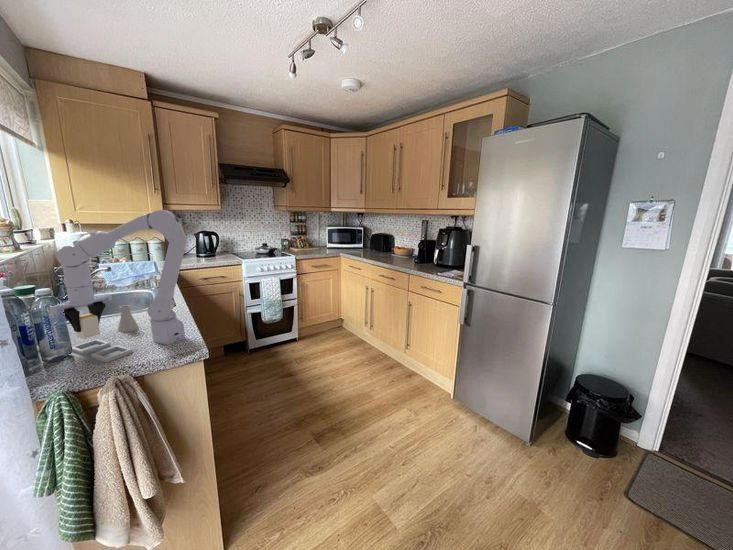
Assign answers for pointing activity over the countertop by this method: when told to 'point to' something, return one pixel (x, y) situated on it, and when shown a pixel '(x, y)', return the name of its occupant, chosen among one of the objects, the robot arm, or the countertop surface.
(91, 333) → the plug
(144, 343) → the countertop surface
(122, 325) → the flask
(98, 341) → the panel
